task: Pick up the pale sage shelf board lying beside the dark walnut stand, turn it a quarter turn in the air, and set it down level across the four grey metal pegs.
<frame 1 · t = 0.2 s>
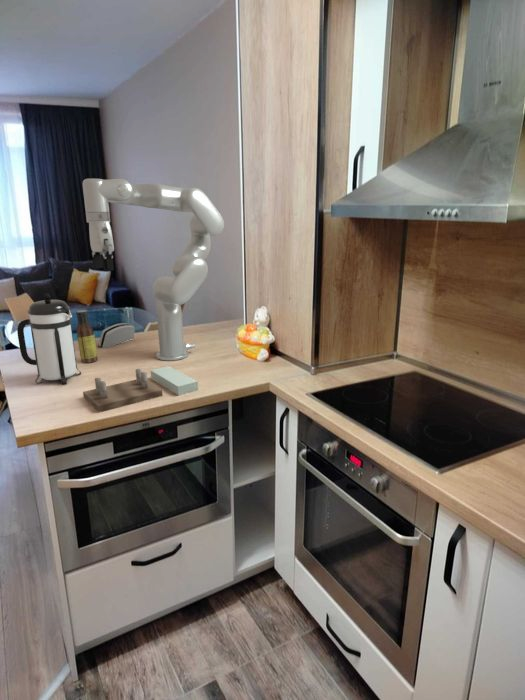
hand: (103, 269, 161), 36 cm above the worktop, tool pointing down, fingers open, 9 cm apart
coffee press: (55, 379, 162), on the worktop
peg stand: (123, 396, 146), on the worktop
napkin holder: (118, 344, 204), on the worktop
sauce bottle: (89, 361, 181), on the worktop
shelf board: (173, 385, 156), on the worktop
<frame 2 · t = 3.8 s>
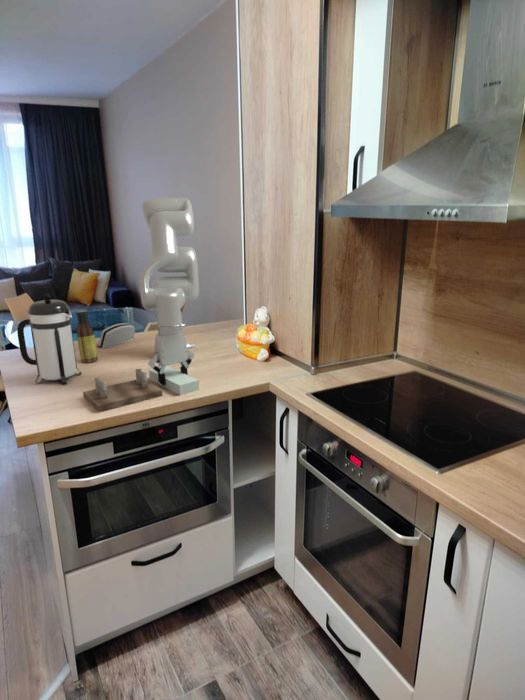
hand: (173, 381, 155), 1 cm above the worktop, tool pointing down, fingers closed on shelf board, 7 cm apart
shelf board: (173, 384, 156), on the worktop, touching gripper
everything else where it was.
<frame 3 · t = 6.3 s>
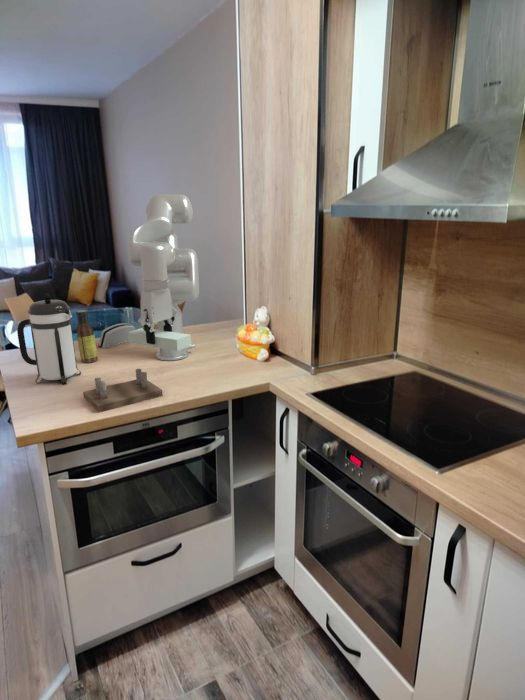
hand: (159, 340, 149), 16 cm above the worktop, tool pointing down, fingers closed on shelf board, 7 cm apart
shelf board: (159, 344, 149), point 15 cm above the worktop, touching gripper
everything else where it was.
when the fingers open (9 cm above the worktop, at t = 9.0 s): shelf board drops 1 cm, resting on peg stand.
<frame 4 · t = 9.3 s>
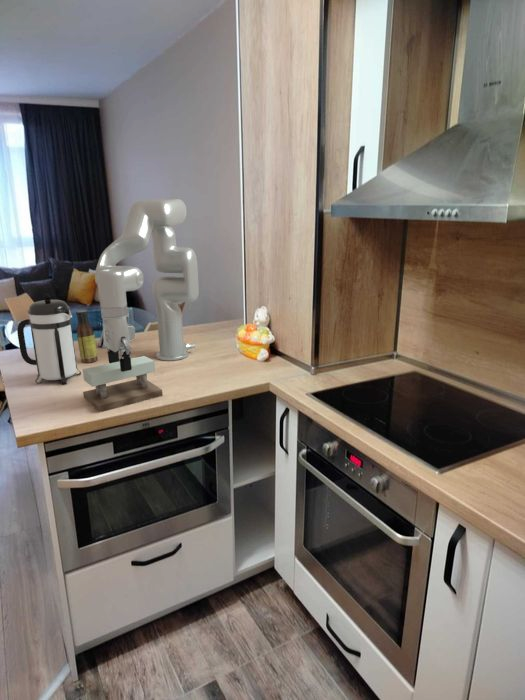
hand: (120, 366, 143), 10 cm above the worktop, tool pointing down, fingers open, 9 cm apart
shelf board: (120, 375, 144), point 7 cm above the worktop, touching peg stand
everything else where it was.
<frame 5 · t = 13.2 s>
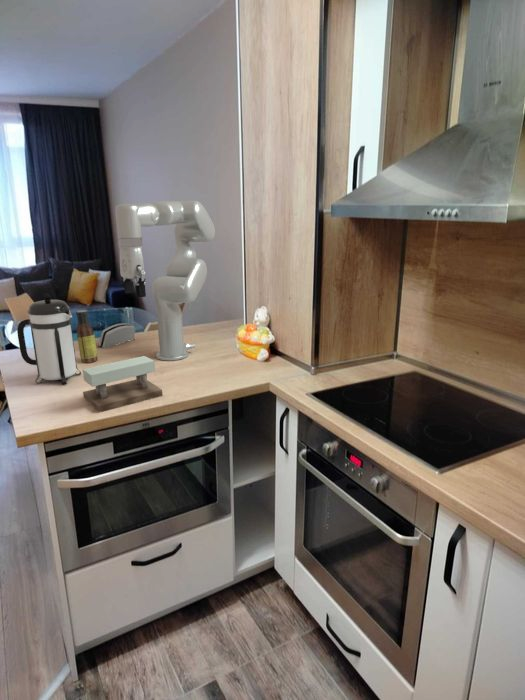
hand: (135, 295, 158), 28 cm above the worktop, tool pointing down, fingers open, 9 cm apart
nothing on the worktop moved.
at the end: shelf board 0.2 cm off-centre on the peg stand, point 7.0 cm above the peg stand's base; shelf board tilted 0°; the gripper is holding nothing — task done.
